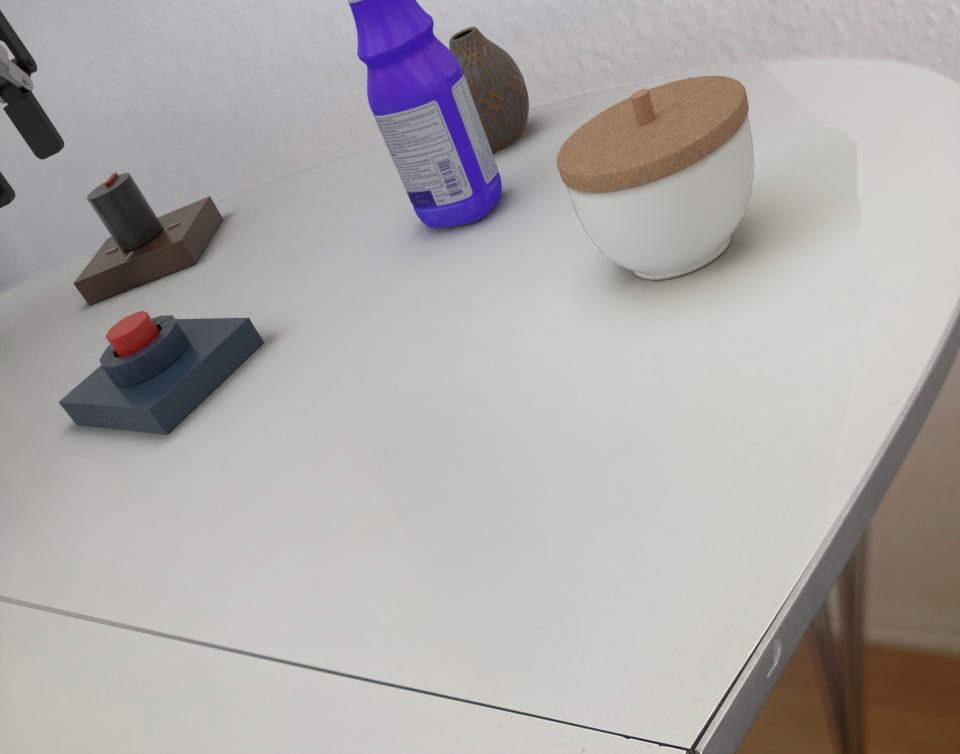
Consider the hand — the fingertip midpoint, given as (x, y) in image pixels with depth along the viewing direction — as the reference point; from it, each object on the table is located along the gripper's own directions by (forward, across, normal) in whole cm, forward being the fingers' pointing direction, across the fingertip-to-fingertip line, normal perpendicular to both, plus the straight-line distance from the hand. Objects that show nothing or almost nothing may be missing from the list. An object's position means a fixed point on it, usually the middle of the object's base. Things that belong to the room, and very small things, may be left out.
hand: (29, 178), depth 66 cm
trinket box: (+17, +6, +40) cm, 44 cm away
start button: (+13, 0, 0) cm, 13 cm away
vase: (+17, -25, +26) cm, 39 cm away
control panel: (+16, -29, -12) cm, 35 cm away
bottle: (+17, -12, +24) cm, 31 cm away
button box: (+16, 0, 0) cm, 16 cm away
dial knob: (+14, -29, -12) cm, 34 cm away
